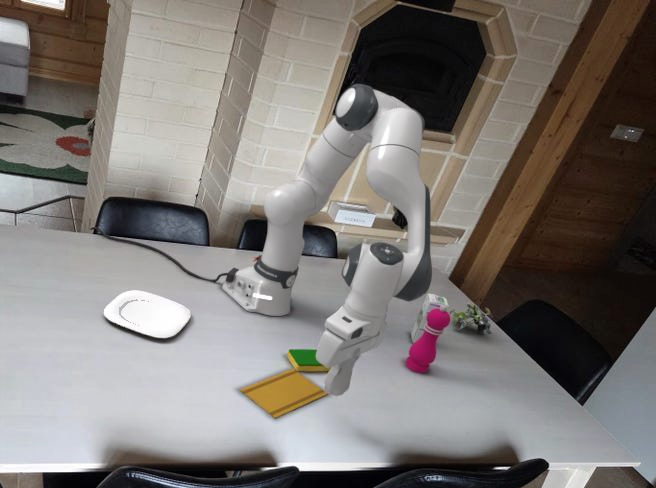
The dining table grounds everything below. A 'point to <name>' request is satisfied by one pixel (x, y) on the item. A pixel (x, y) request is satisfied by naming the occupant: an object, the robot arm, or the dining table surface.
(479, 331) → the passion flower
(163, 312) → the plate
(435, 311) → the pepper mill
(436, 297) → the syrup box
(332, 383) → the salt shaker
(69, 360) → the dining table surface
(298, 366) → the dish sponge
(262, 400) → the cloth
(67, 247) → the dining table surface
